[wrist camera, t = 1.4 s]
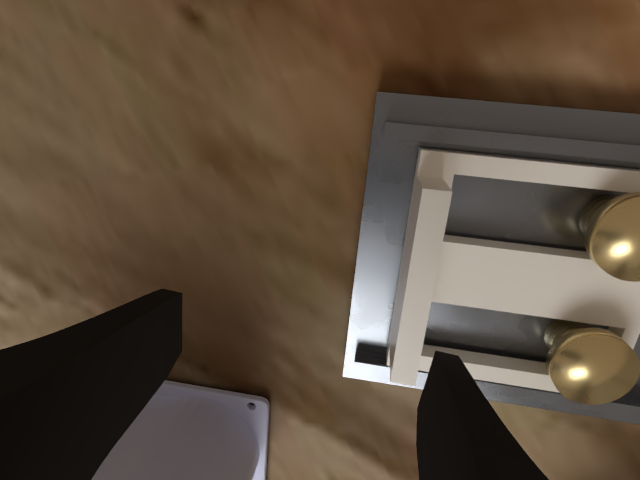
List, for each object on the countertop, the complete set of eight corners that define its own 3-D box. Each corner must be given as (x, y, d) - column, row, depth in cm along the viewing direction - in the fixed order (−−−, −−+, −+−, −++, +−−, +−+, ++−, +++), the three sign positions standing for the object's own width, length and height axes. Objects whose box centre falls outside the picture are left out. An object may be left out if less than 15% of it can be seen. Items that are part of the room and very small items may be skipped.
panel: (386, 353, 20) (386, 401, 17) (419, 147, 17) (427, 159, 14) (601, 386, 19) (646, 445, 16) (682, 173, 16) (758, 192, 13)
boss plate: (344, 362, 23) (336, 413, 19) (377, 92, 18) (375, 90, 14) (702, 419, 21) (770, 487, 17) (843, 131, 16) (978, 142, 12)
